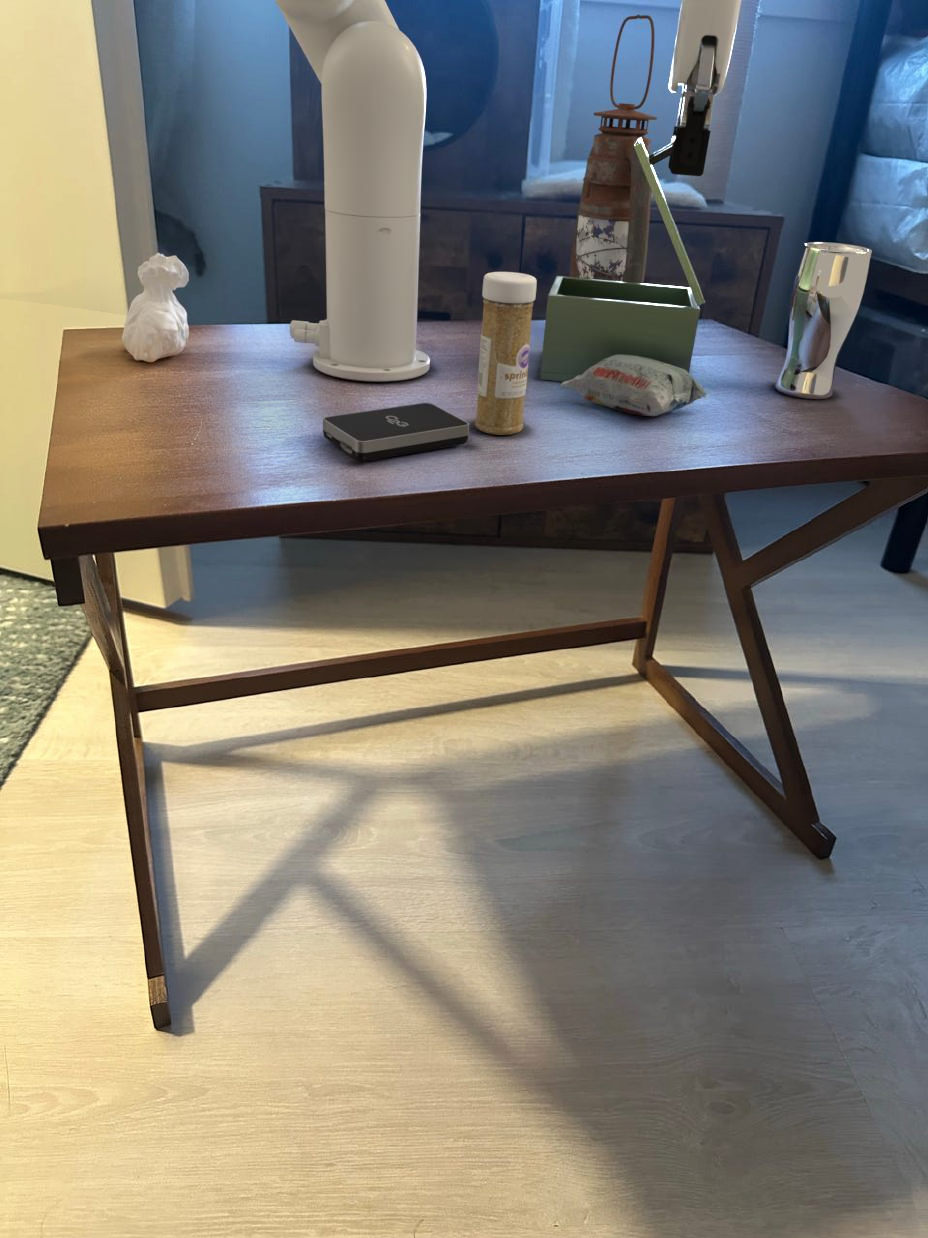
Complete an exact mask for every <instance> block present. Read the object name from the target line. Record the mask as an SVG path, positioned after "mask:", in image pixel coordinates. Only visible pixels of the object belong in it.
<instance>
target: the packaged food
mask: <svg viewBox="0 0 928 1238" xmlns="http://www.w3.org/2000/svg"><path fill="white" fill-rule="evenodd" d="M560 387H563V388H565V387H568V388H569V389H572V390H574V391H576V392H578V393H579V396H580V397H582V398H583V399H585V400H586V401H588V402H591V403H593V404H597V405H600V406H604V407H607V408H610V409H614V410H616V411H620V412H622V413H626V414H631V415H636V416H643V417H658V416H660V415H664V414H667V413H669V412H673V411H676V410H679V409H682V408H684V407H686V406H689V405H691V404H694V402H695V401H697V400H700V399H702V397H703V398H706V396H707V395H708V393H707V392H706V390H705V389H704V387H702V385H701V384H700V383H699V381H697V380H696V379H695V377H694V376H692V375H691V374H690V372H689V373H688V372H687V371H686V370H685V369H682V368H679V367H676V366H673V365H670V364H667V363H663V362H660V361H657V360H653V359H650V358H644V357H640V356H634V355H622V354H617V355H613V356H611V357H609V358H606V359H603V360H602V361H600V362H599V363H597V364H595V365H594V366H592V367H590V368H589V369H588V370H586V371H585V372H584V373H583V374H582V375H578V376H577V377H575V378H574V379H572V380H569V381H565V382H562V383H561V384H560Z"/></svg>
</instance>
